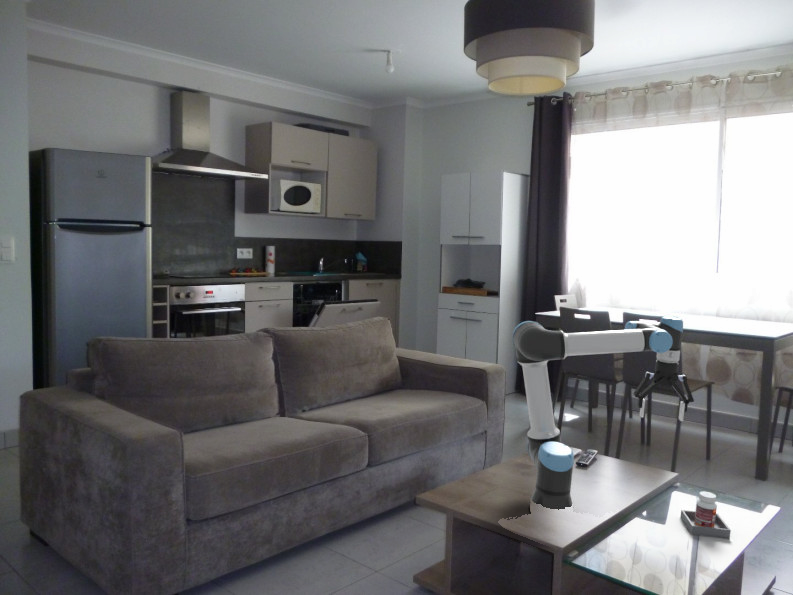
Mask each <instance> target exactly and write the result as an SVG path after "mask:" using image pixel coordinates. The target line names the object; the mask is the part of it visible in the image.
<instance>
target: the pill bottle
mask: <svg viewBox="0 0 793 595" xmlns="http://www.w3.org/2000/svg"><path fill="white" fill-rule="evenodd" d="M716 502H717V495H716V494H715V493H713V492H710V491H700V492H699V494H698V499H697V500H696V505H695V511H696V513H695V521H694V524H695V525H696V526H704V527H713V528H714V525H715V517H716V514H717V508H718V507H717V506H718V505H717V503H716Z"/></svg>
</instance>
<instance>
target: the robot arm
mask: <svg viewBox="0 0 793 595" xmlns="http://www.w3.org/2000/svg"><path fill="white" fill-rule="evenodd" d="M683 333H684V321H683V319H681V318H679V317H676V316H662V317H661V318H660V320H659V321H658V322H656V321H655V322H654V321H653V322H652V321H639V320H629V321H627V322H626V323H625V325H624V329H617V330H600V331H599V330H598V331H596V330H595V331H586V332H585V331H581V332H565V331H563V330H549V329H546V328H544V327H543V325H541V324H540V323H539V322H537V321H532V320H526V321H522V322H520V323H518V325H516V326H515V328H514V330H513V332H512V338H511V340H512V343H513V346H514V347H515V355H516V361H517V363H518V364H519V365H520V366H521V368H522V373H523V381H524V389H525V390H524V391H525V395H526V396H525V397H526V403H527V410H528V417H529V418H528V419H529V425H530V429H529V430H528V431H527V434H526V435H527V447H526V449H527V450H526V451H527V454H528V456H529V459H530V460H531V461H532V462H533V464H534V467H535V469H536V480H535V488H534V492H533V493H532V495H531V498H530V500H531V499H532V501H533V502H534V503H536V504H541V505H542V506H543V507H546V508H550V509H558V510H559V509H565V507H571V506H572V504H573V500H572V496H571V490H572V480H573V479H572V478H573V469H574V464H575V463H574V462H575V458H574V457H575V454H574V452H573V450H572V448H570V446H568V445H567V444H565V443H562V437H561V432H560V429H559V428H558V427H556V425H555V418H554V410H553V401H552V396H551V395H552V394H551V386H550V379H549V372H548V362H549V361H555V360H556V361H557V360H565V358H567V357H572V356H586V355H604V354H617V353H633V352H635V353H636V352H638V353H639V352H654V353H656V360H655V369H654V372H650V371H645V373H644V377H643V378H642V379H641V381H640V383H639V384H638V386H637V387H636V389H635V390H634V392H633V394H632V395H633V396H634V397H635V398H637V400H638V401H637V407H638V409H639V417H640V418H645V417H644V415H645V409H646V408H645V406H646V399H645V398H646V397H647V396H648V395H649V394H650V393H652V392H653V391H654V390H655V389H656V388H657V387H659V386H660V387H667V388H670V387H673V389H674V390H675V391H676V393H677V394H678V397H680V398H681V400H682V401H681V400H680V402H679V403H680V404H679V411H678V420H679V422H684V415H685V413H686V412H687V411H688V406H689V404H690V403H694V402H695V399H694V396H693V394H692V392H691V390H690V386H689V384H688V378H687V375H685V374H681V375H680V374H678V373H679V367H680V366H679V361H680V357H681V347H682V340H683ZM652 378H653V379H654V380H652V382H651V383H650V384H649V385H648V386H647V384H648V382H649V381H650V380H651V379H652ZM678 380H679V381H680V382H681V384H682V387H683V389H684V391H685V394H686V396H687V397H686V396H685V394H684V393H683V392H682V390H681V389H680V388H679V385H677V383H676V382H678ZM646 386H647V387H646ZM645 387H646V388H645ZM644 388H645V389H644Z"/></svg>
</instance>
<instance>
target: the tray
mask: <svg viewBox="0 0 793 595" xmlns="http://www.w3.org/2000/svg"><path fill="white" fill-rule="evenodd" d="M695 513H696V510H695V511H694V510H689V509H688V510H687V509H681V510H680V517H679V518H680V519H681V521H682V523H683V524H684V526H685V527H686V529H687V530H688V532H689V533H690V535H693V536H700V537H701V536H702V537H709V538H710V537H711V538H718V539H728V540H729V539H730V538H731V532H732V531H731V528H730V527H729V526H728V525H727V524H726V523H725V521H724V520H723V518H722V517H721V516H720V515H719V514H718V513H716V517H715V525H714V528H713V527H704V526H696V525H695V524H694V521H695Z"/></svg>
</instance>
